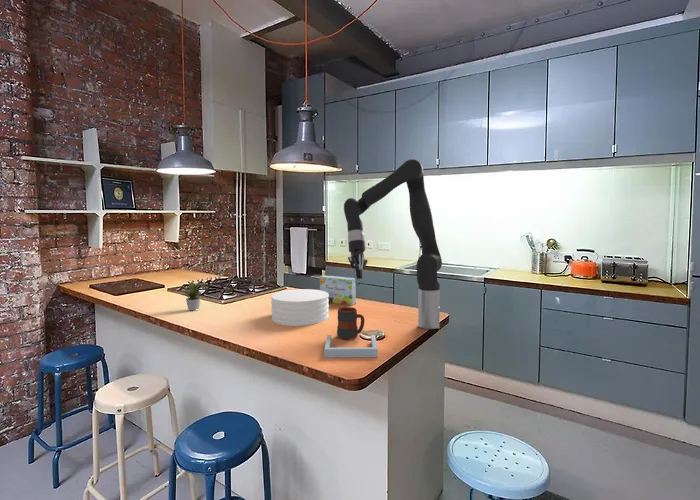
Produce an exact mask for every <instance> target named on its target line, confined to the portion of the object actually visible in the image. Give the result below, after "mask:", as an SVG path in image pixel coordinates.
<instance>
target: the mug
mask: <svg viewBox="0 0 700 500" xmlns="http://www.w3.org/2000/svg"><path fill="white" fill-rule="evenodd" d="M358 318H359V319H360V324H359V327H358V325H357V324H358V321H357V319H358ZM364 326H365V317H364V315H363V314H360V313H358V310H357V308H355V307H352V306H347V307H346V306H344V307H340V308H337V329H336V335H337V337H338V338H339V339H340V340H343V341H344V340H345V341H346V340H347V341H349V340H350V341H351V340H354V339H356V338H357V337H358V335H359V334H360V333H362V331H363V330H364Z"/></svg>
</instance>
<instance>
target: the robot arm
mask: <svg viewBox="0 0 700 500" xmlns="http://www.w3.org/2000/svg"><path fill="white" fill-rule="evenodd" d="M424 176H425V175H424V167H423V165H422V163H421V162H420V161H419V160H417V159H414V158H413V159H412V158H409V159H407V160H406V161H405V162H403V164H401V165H400V166H398V168H397V169H396V170H395V171H393V172H392V173H391V174H389V175H388V176H386V177H385V178H383V179H382V180H381V181H379V182H377V183H376V184H374V185H372V186H371V187H370V188H368V189H366V190H365V191H364V192H362V193H361V198H359V199H358V200H357V199H356V198H353V197H349V198H347V199H345V200H344V203H343V212H344V216H345V220H346V224H347V226H346V227H347V241H348V242H347V243H348V252H349V253H350V256H348V257H347V259H348V262H349V264H350V266H351V268H352V269H353V270H354V271H355V275H356V276H355V278H356V280H362V279H363V270H366V266H367V264H368V259H365V254H364V252H365V251H366V242H365V234H364V228H363V226H364V225H363V221H362V219H361V218H360V216H361V215H362V214H364V213H365V212H366V211H367V210H368V209H369V208H370V207H371V206H372V205H375V204H376V203H377V202H379V201H381V200H382V199H383V198H385V197H386V196H388V195H389V194H390V193H391V192H392V191H393V190H394V189H396V188H398V187H399V186H401V185H403V184H406V186H407V191H408V195H409V196H408V197H409V214H410V219H411V225H412V228H413V230H414V232H415V234H416V236H417V238H418V240H419V243H420V245H421V246H420V247H421V253H422V254H421V255H420V256H419V257H418V259H417V261H416V281H417V282H416V283H417V285H418V296H417V297H418V298H417V299H418V301H417V303H418V305H417V306H418V308H417V309H418V310H417V311H418V312H417V313H418V314H417V317H418V318H417V325H418V327H419V328H421V329H426V330H435V329H440V316H441V315H440V314H441V313H440V312H441V311H440V310H441V308H440V291H441V290H440V285H441V284H440V282H439V281H438V271H440V270H441V269H442V265H443V261H442V260H443V259H442V256H441V253H440V250H439V245H438V243H437V238H436V231H435V226H434V221H433V219H434V218H433V216H432V215H433V214H432V209H431V205H430V202H429V199H428V195H427V193H426V188H425V181H424V180H425V177H424Z"/></svg>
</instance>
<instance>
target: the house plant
mask: <svg viewBox="0 0 700 500" xmlns="http://www.w3.org/2000/svg"><path fill="white" fill-rule="evenodd" d="M204 283H206V281H203V282H202V283H201V280H200V281H199V282H197V283H195V282H194V281H193V280H189V282H188V286H189V290H188V288H186V287H185V286H184V285H182V284H181V286H182V287H183V288H184V289H185V290H183V292H184V293H182V295H183V296H185V297H187V298H186V300H185V301H186V306H187V310H188V309H189V310H196V309H199V310H200V304H201V297H200V295H201V293H202V292H203V293H205V289H204V290H200V289H201V288H202V287H203V286H205V284H204ZM189 310H188V311H189Z"/></svg>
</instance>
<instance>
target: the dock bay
mask: <svg viewBox="0 0 700 500" xmlns="http://www.w3.org/2000/svg"><path fill="white" fill-rule="evenodd" d="M370 337H371V339H370V343H371V347H331V345H332V335H330V334H328V335H326V340H325V344H324V358H378V356H379V354H378V353H379V351H378V350H379V347H378V342H377V338H376V334H371V336H370Z"/></svg>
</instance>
